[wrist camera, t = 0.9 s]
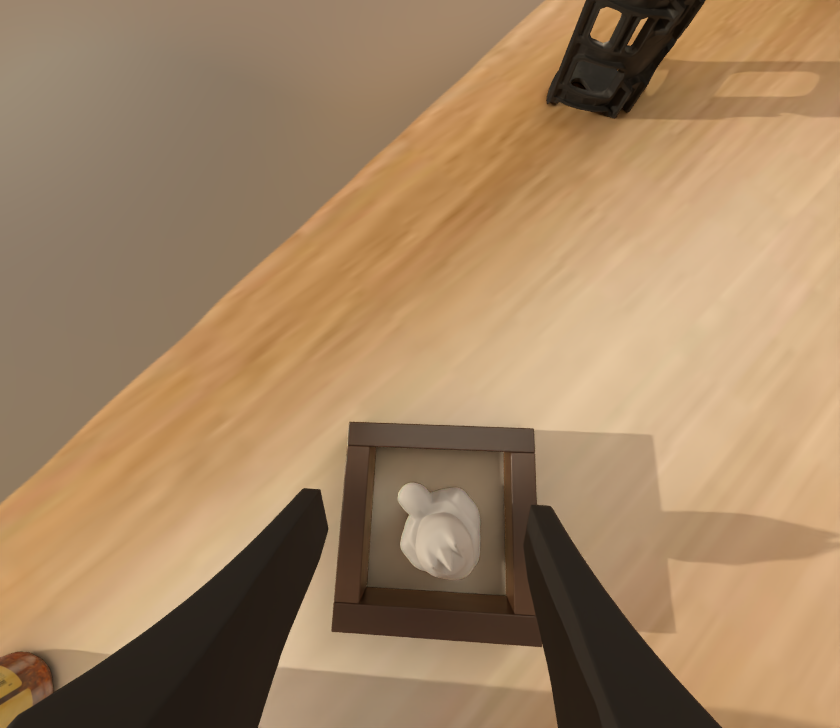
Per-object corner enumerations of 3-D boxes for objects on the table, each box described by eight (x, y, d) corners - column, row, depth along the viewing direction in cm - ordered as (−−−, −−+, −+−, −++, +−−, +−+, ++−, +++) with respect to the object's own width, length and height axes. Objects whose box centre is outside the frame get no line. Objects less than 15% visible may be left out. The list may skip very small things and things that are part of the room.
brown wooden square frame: (530, 624, 22) (542, 647, 19) (342, 611, 22) (330, 632, 20) (524, 429, 24) (534, 428, 22) (357, 423, 25) (348, 421, 23)
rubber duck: (440, 583, 22) (443, 659, 15) (379, 505, 24) (351, 538, 16) (497, 527, 23) (528, 572, 15) (434, 454, 24) (433, 462, 17)
